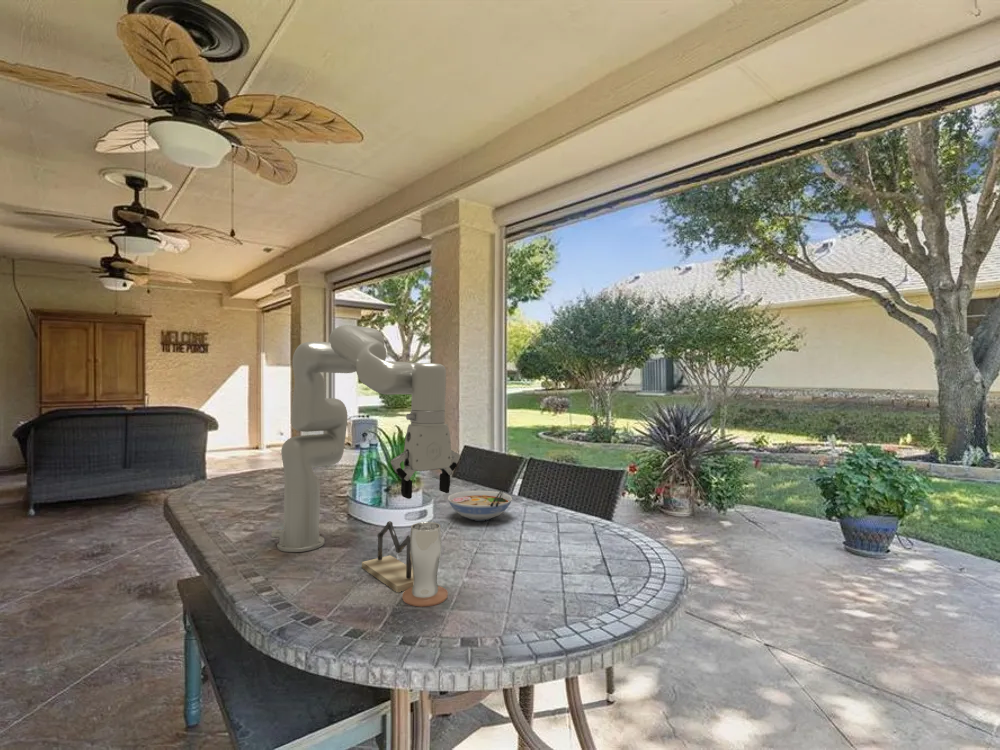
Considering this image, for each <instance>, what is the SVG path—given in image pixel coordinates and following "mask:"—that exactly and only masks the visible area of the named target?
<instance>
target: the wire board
mask: <svg viewBox="0 0 1000 750" xmlns="http://www.w3.org/2000/svg"><path fill="white" fill-rule="evenodd" d="M361 568H362V569H363V570H364V569H365V570H364V571H365V572H367V573H368V574H370V576H373V577H374V578H376V579H377V580H379V581H380V582H381V583H382V584H384V585H385V584H386V585H385V586H387V587H388V586H389V587H388V588H389V589H391V588H392V589H391V590H393V591H394V592H395V591H396V592H395V593H397V592H398V593H402V592H404V591H405V590H407V589H409V588H411V587H412V585H413V570H412V567H411V578H406V563H404V562H402V561H400V559H398V558H396V557H394V556H392V555H386V556H382V560H378V557H377V558H374V559H369V560H364V561H361ZM401 591H402V592H401Z"/></svg>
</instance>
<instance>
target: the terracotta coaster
mask: <svg viewBox="0 0 1000 750" xmlns="http://www.w3.org/2000/svg"><path fill="white" fill-rule="evenodd" d="M411 590H412V587H411V588H409V589H407V590H405V591H402V592H403V593H402V595H401V598H402V601H403V602H404V603H406V604H407V605H409V606H413V607H422V608H423V607H426V608H427V607H432V606H433V607H434V606H437V605H440V604H442V603H443V602H445V601H446V600H447V599H448V596H449V594H448V593H449V592H448V590H447V589H446V588H445V587H442V586H440V585H438V590H439V593H438V595H437V596H436V597H433V598H430V599H417V598H414V597H413V596H412V595H411Z"/></svg>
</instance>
